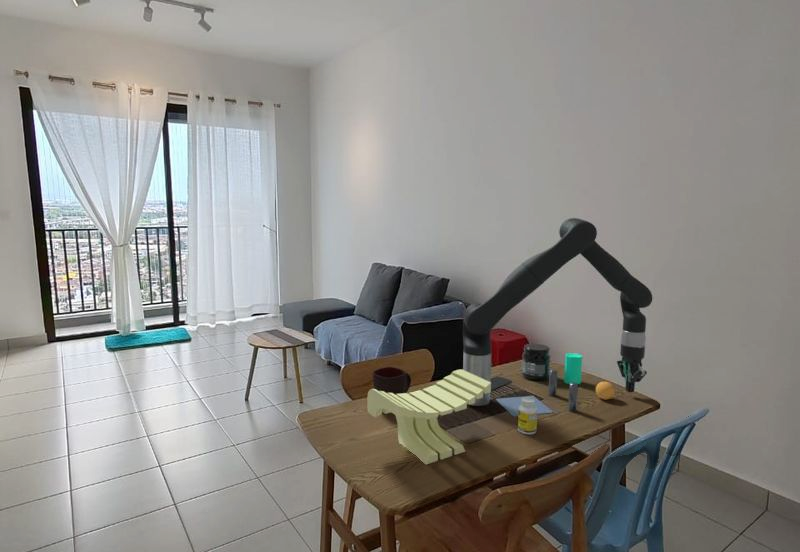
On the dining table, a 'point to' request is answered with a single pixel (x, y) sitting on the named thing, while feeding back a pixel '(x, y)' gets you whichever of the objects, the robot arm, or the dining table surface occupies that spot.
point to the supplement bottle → (527, 416)
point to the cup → (391, 380)
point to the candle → (573, 368)
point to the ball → (605, 390)
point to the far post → (552, 382)
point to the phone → (498, 382)
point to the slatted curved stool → (429, 413)
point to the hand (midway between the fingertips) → (629, 391)
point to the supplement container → (536, 362)
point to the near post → (573, 397)
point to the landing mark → (515, 402)
